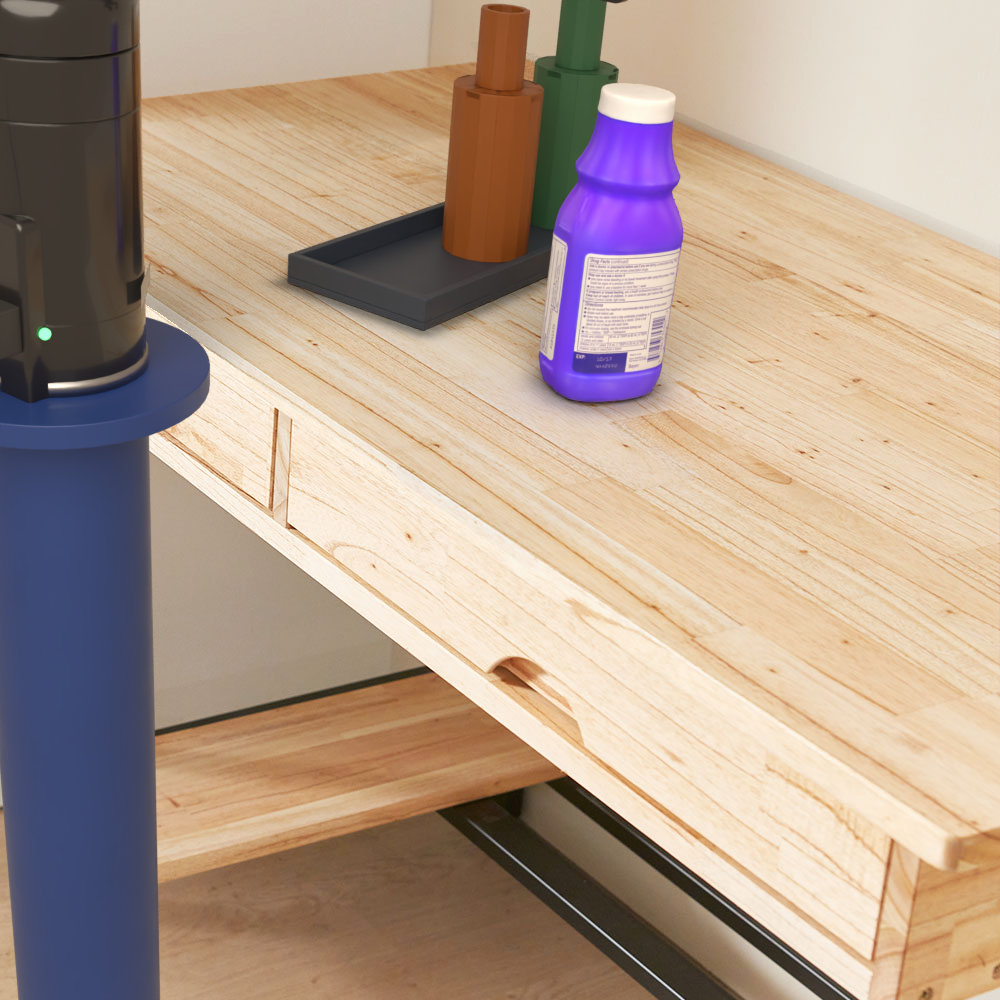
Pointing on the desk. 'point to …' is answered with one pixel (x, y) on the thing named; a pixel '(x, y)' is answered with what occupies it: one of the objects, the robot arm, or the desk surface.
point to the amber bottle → (493, 144)
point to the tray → (413, 270)
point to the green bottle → (568, 104)
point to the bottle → (615, 253)
